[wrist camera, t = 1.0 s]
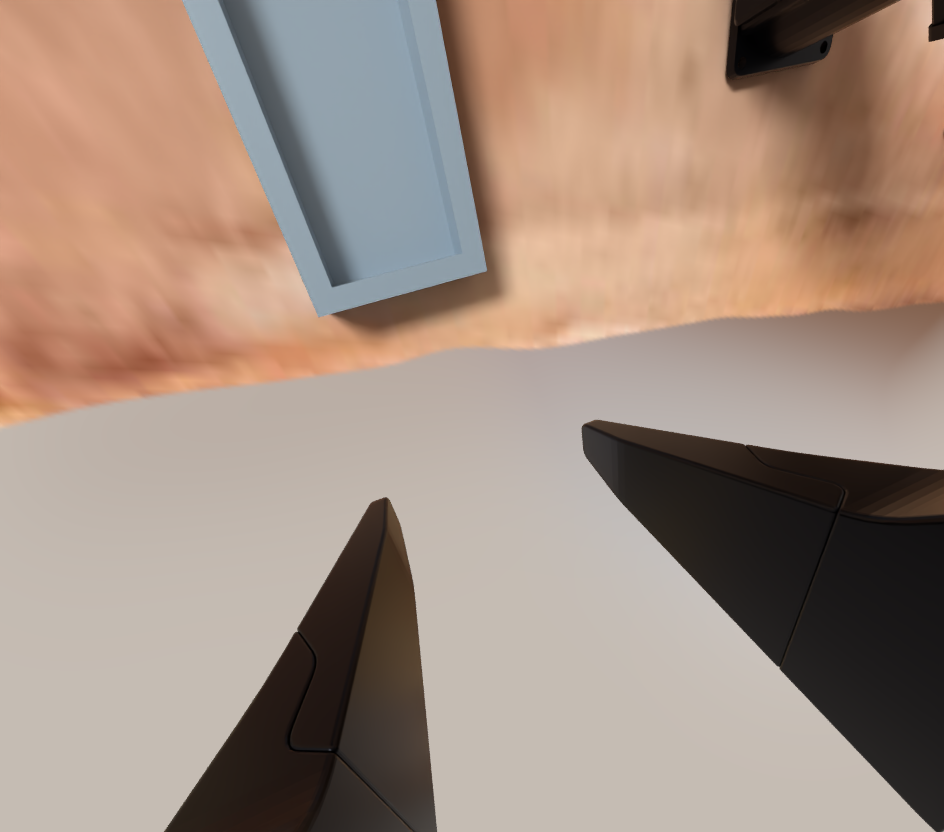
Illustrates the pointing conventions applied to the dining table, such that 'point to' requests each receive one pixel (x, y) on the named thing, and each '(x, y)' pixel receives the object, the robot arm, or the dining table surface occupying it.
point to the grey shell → (350, 139)
